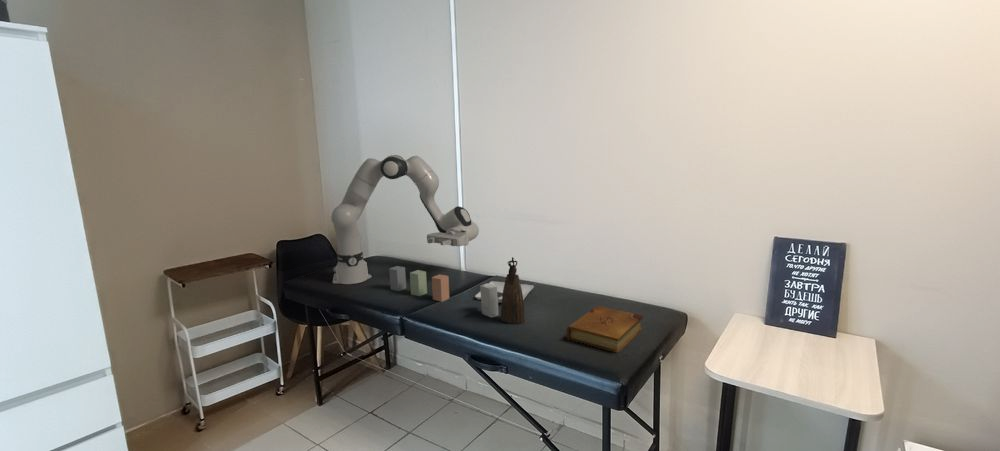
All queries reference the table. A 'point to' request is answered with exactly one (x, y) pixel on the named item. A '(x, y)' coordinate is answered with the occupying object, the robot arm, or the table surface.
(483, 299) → the skincare box
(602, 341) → the diary
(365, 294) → the table surface
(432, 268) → the table surface
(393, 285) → the slate block
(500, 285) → the salad plate
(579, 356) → the table surface
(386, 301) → the table surface
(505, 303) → the statue
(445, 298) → the terracotta block
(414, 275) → the sage block
